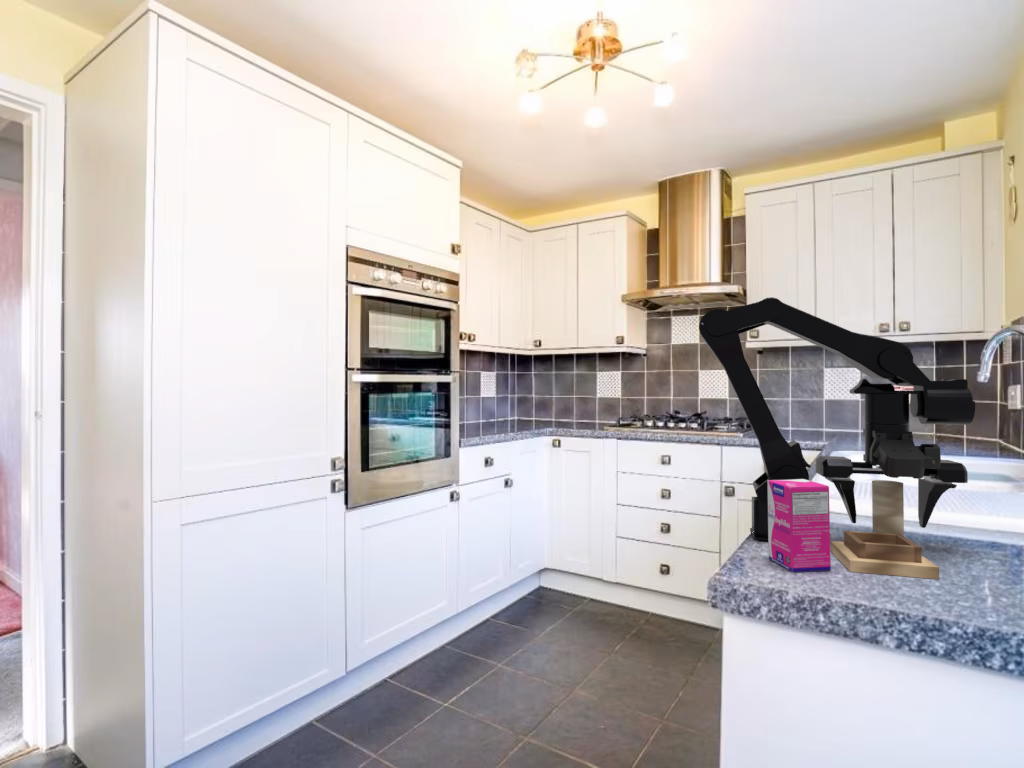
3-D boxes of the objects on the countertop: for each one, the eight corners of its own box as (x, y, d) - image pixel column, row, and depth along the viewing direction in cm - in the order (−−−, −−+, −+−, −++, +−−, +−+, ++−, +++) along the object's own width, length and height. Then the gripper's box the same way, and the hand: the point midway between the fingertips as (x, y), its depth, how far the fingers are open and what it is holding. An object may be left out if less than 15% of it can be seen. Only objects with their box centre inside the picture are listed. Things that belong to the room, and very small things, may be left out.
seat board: (850, 571, 73) (849, 545, 74) (830, 551, 83) (830, 527, 83) (939, 579, 70) (938, 551, 71) (908, 557, 80) (908, 532, 80)
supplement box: (766, 559, 79) (766, 479, 79) (806, 558, 79) (805, 478, 79) (790, 572, 73) (789, 485, 73) (832, 571, 74) (832, 485, 74)
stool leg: (877, 549, 84) (876, 483, 84) (869, 543, 88) (868, 479, 88) (908, 551, 83) (907, 484, 83) (898, 545, 86) (897, 480, 87)
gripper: (832, 425, 80) (832, 533, 80) (987, 428, 75) (988, 543, 75) (814, 421, 91) (815, 516, 91) (949, 423, 86) (950, 524, 85)
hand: (887, 525), depth 85 cm, fingers open, 9 cm apart
